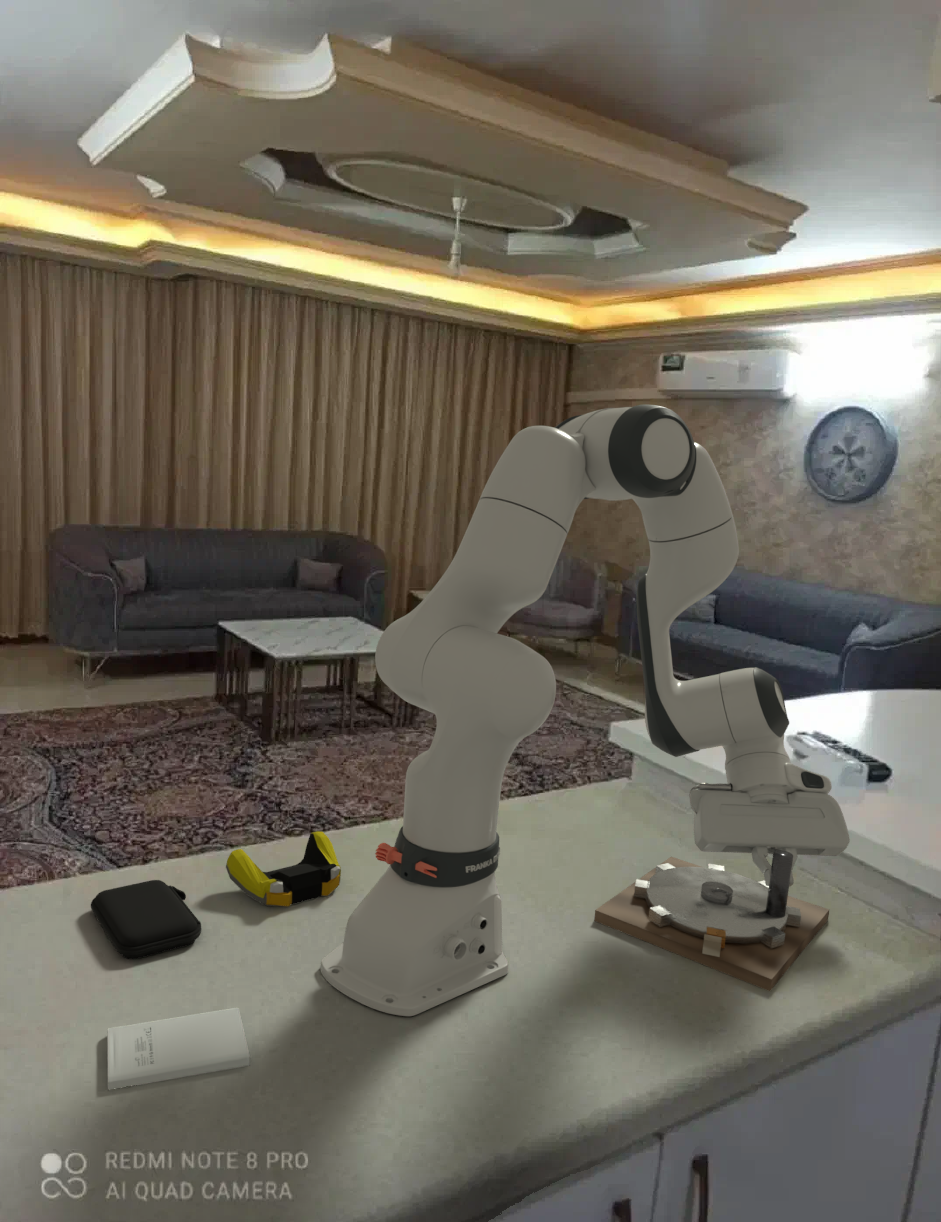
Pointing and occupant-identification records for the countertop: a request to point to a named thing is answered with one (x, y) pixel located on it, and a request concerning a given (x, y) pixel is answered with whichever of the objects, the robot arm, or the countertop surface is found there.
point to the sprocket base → (732, 953)
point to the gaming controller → (289, 875)
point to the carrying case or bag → (146, 918)
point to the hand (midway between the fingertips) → (780, 885)
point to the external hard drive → (176, 1048)
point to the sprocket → (722, 902)
